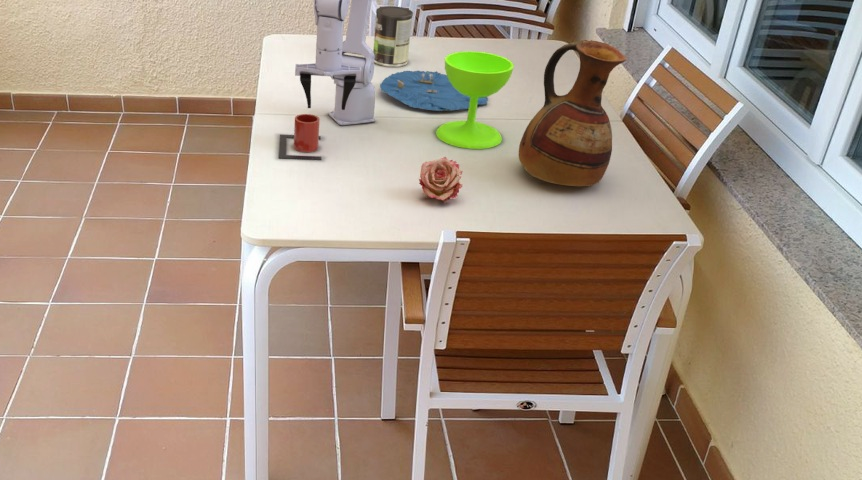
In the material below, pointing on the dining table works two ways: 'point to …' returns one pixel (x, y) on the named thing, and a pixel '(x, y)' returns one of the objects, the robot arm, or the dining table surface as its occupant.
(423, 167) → the flower
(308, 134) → the tumbler
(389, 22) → the coffee can
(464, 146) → the wineglass
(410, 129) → the dining table surface
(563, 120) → the ceramic pitcher
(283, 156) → the tape bay
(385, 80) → the decorative plate
